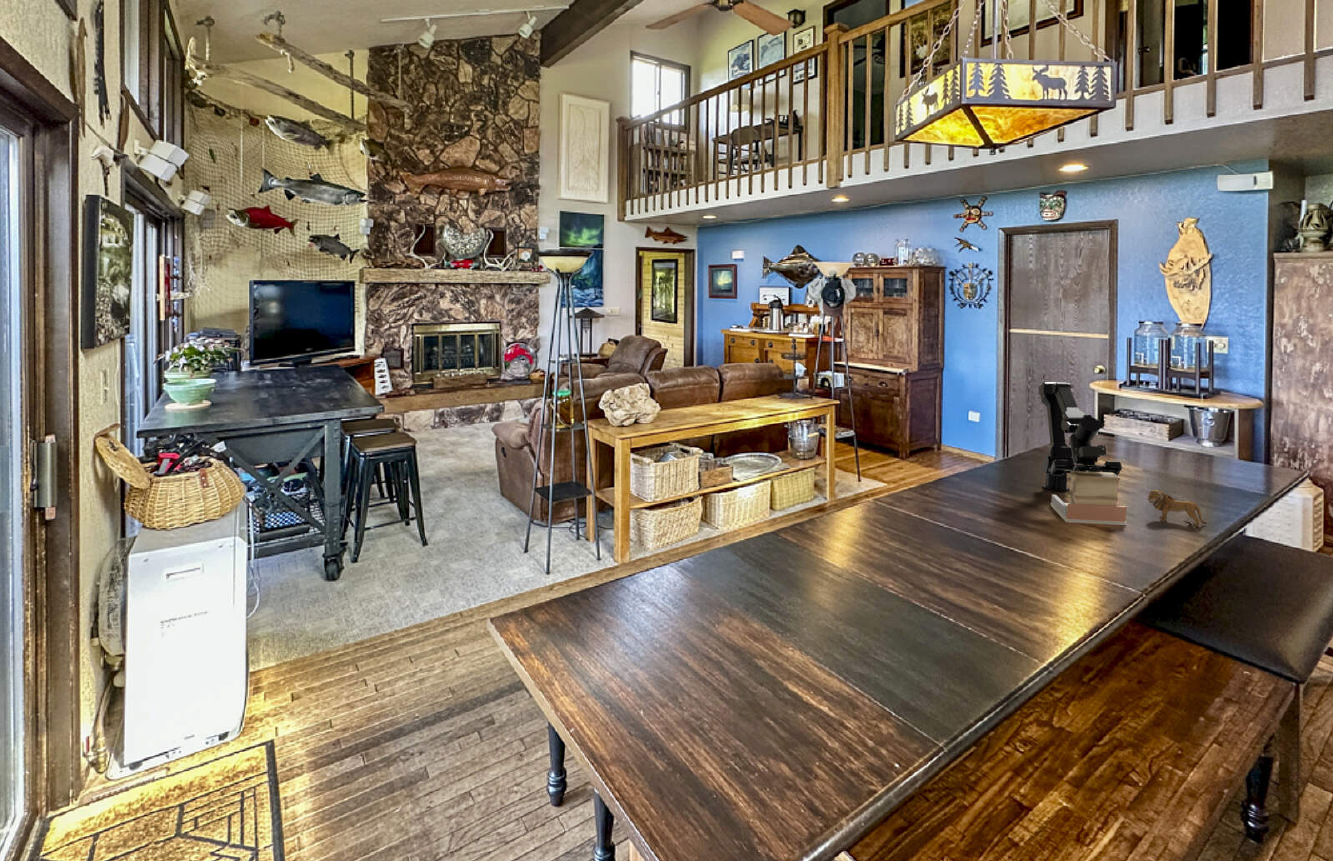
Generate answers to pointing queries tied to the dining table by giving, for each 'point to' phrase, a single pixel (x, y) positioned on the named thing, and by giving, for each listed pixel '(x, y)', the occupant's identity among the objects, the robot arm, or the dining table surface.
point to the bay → (1089, 512)
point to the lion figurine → (1173, 506)
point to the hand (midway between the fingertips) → (1089, 491)
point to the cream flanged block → (1094, 488)
